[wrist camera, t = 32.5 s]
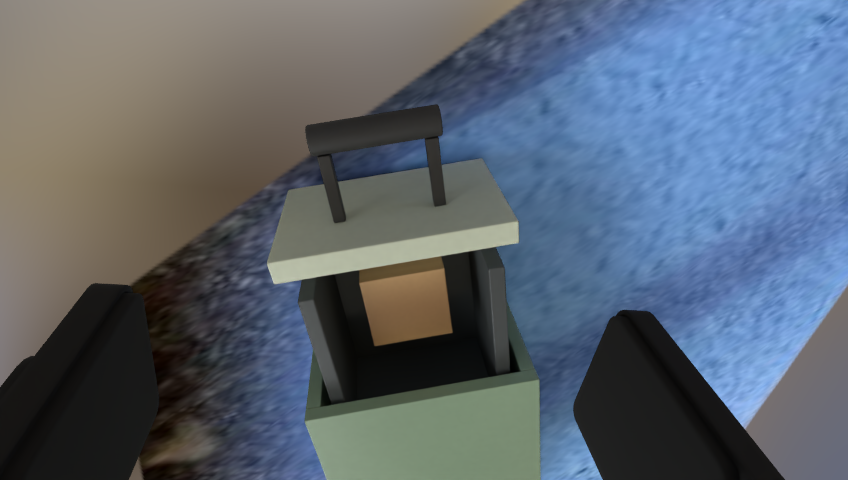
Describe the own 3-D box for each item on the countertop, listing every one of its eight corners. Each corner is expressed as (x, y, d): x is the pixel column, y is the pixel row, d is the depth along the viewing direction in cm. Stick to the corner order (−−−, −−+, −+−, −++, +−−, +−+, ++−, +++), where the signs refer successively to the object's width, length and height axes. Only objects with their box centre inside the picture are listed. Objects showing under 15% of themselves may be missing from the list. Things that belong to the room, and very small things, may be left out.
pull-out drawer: (263, 105, 26) (229, 160, 19) (476, 71, 26) (515, 114, 20) (338, 358, 36) (333, 453, 29) (494, 331, 36) (525, 419, 29)
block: (359, 238, 30) (359, 282, 26) (433, 226, 30) (444, 268, 26) (372, 298, 32) (374, 346, 28) (441, 286, 32) (452, 333, 28)
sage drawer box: (317, 307, 34) (304, 421, 26) (497, 276, 35) (539, 379, 26) (359, 442, 42) (358, 563, 34) (505, 415, 42) (541, 529, 34)
